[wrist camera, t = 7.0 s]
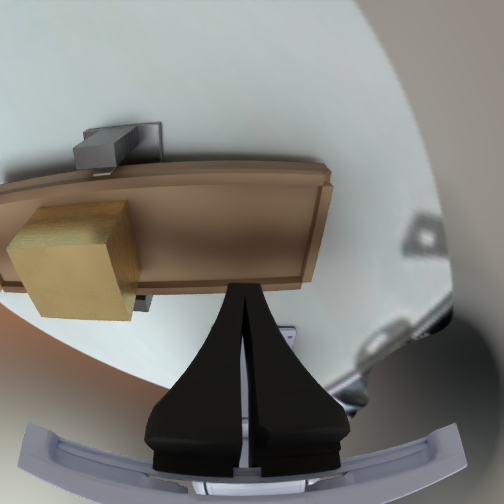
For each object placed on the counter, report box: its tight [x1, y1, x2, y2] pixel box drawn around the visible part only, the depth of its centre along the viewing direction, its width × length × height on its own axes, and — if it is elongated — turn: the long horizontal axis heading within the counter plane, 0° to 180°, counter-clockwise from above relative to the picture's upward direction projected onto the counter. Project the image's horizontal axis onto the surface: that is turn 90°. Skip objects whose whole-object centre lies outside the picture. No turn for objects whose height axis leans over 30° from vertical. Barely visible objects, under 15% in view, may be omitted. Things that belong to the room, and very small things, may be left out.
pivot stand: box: [73, 122, 163, 312], centre depth 17 cm, size 12×5×4 cm, turn 177°
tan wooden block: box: [6, 199, 141, 321], centre depth 13 cm, size 5×6×4 cm
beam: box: [0, 161, 333, 295], centre depth 16 cm, size 8×24×2 cm, turn 86°
